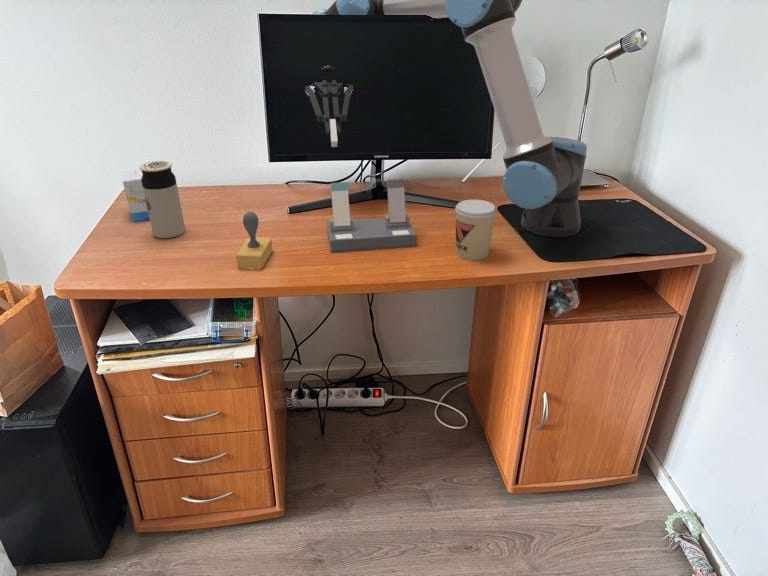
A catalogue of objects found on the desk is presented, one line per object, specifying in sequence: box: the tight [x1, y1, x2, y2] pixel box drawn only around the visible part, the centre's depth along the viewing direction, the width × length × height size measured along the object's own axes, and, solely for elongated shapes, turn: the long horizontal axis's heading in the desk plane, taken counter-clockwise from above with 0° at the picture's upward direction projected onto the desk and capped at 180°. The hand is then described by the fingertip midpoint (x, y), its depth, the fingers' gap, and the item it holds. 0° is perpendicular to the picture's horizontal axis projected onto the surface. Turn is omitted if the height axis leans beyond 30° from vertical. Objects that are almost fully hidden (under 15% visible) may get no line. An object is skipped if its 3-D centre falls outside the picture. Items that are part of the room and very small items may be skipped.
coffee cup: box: [454, 199, 497, 261], centre depth 133 cm, size 9×9×12 cm
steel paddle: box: [386, 178, 407, 224], centre depth 141 cm, size 2×4×11 cm, turn 99°
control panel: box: [326, 213, 417, 253], centre depth 141 cm, size 12×21×6 cm, turn 99°
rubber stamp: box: [235, 211, 273, 270], centre depth 130 cm, size 10×6×12 cm, turn 176°
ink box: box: [122, 169, 150, 223], centre depth 154 cm, size 9×8×12 cm
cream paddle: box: [330, 181, 351, 227], centre depth 139 cm, size 2×4×11 cm, turn 99°
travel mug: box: [139, 160, 186, 239], centre depth 142 cm, size 8×8×18 cm
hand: (334, 144), depth 145 cm, fingers closed
